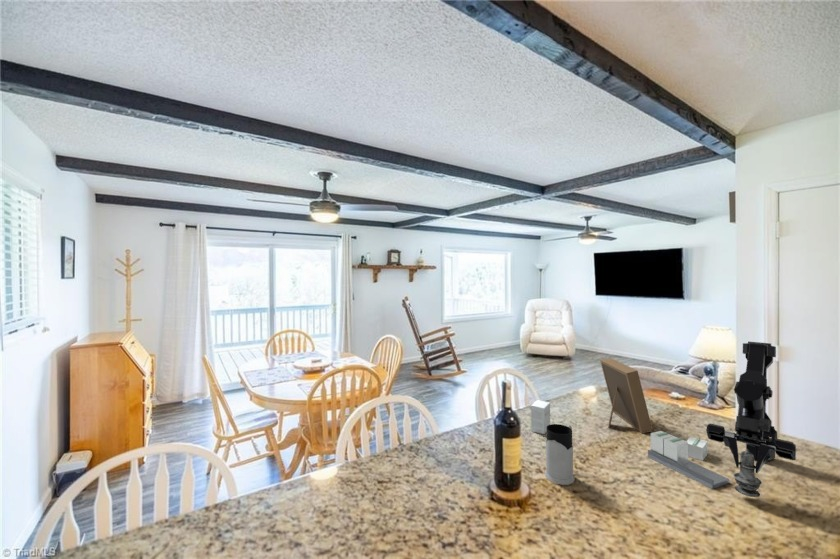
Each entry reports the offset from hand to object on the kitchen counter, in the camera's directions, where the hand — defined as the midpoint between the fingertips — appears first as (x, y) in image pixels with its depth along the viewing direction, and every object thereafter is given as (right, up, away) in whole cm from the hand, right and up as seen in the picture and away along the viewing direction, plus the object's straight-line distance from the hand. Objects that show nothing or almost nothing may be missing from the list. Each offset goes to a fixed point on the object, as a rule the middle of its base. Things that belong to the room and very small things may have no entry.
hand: (746, 469), depth 100 cm
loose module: (+6, -9, +26) cm, 28 cm away
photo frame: (-6, -8, +54) cm, 55 cm away
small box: (-41, -9, +48) cm, 64 cm away
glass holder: (-45, -9, +16) cm, 48 cm away
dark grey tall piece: (+1, -7, +1) cm, 7 cm away
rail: (-4, -9, +17) cm, 20 cm away
